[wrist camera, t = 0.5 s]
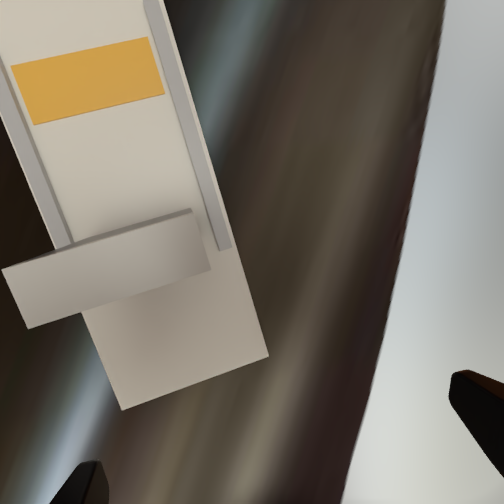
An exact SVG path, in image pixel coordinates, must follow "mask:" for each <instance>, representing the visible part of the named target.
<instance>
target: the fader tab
mask: <svg viewBox="0 0 504 504" xmlns="http://www.w3.org/2000/svg"><path fill="white" fill-rule="evenodd" d="M210 270H211V267H210V263H209V260H208V257H207V254H206V251H205V248H204V245H203V241H202V238H201V235H200V232H199V229H198V226H197V222H196V219H195V216H194V213H193V211H192V209H191V208H188V209H184V210H181V211H177V212H174V213H171V214H167V215H164V216H160V217H157V218H154V219H150V220H147V221H143V222H140V223H136V224H133V225H130V226H126V227H123V228H119V229H116V230H112V231H109V232H106V233H102V234H99V235H95V236H92V237H88V238H86V239H83V240H80V241H77V242H75V243H72V244H69V245H67V246H64V247H61V248H59V249H56V250H53V251H50V252H48V253H45V254H42V255H40V256H37V257H34V258H32V259H29V260H26V261H23V262H21V263H18V264H15V265H13V266H10V267H7V268H5V269H2V272H3V274H4V277H5V279H6V281H7V283H8V285H9V288H10V290H11V292H12V294H13V296H14V299H15V301H16V303H17V305H18V308H19V310H20V312H21V314H22V316H23V319H24V321H25V323H26V325H27V327H28V329H30V328H33V327H36V326H39V325H42V324H45V323H48V322H51V321H54V320H58V319H61V318H64V317H67V316H70V315H73V314H76V313H79V312H82V311H86V310H89V309H92V308H95V307H98V306H101V305H104V304H107V303H110V302H114V301H117V300H120V299H123V298H126V297H129V296H132V295H135V294H138V293H142V292H145V291H148V290H151V289H154V288H157V287H160V286H163V285H166V284H170V283H173V282H176V281H179V280H182V279H185V278H188V277H191V276H194V275H198V274H201V273H204V272H207V271H210Z"/></svg>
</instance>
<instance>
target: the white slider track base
mask: <svg viewBox="0 0 504 504" xmlns="http://www.w3.org/2000/svg"><path fill="white" fill-rule="evenodd" d="M0 116H1V118H2V121H3V123H4V126H5V128H6V130H7V133H8V135H9V138H10V140H11V143H12V145H13V147H14V150H15V152H16V155H17V157H18V160H19V162H20V164H21V167H22V169H23V172H24V174H25V177H26V179H27V181H28V184H29V186H30V189H31V191H32V194H33V196H34V198H35V201H36V203H37V206H38V208H39V211H40V213H41V215H42V218H43V220H44V223H45V225H46V228H47V230H48V232H49V235H50V237H51V240H52V242H53V245H54V247H55V249H59V248H61V247H64V246H67V245H69V244H72V243H75V242H77V241H80V240H83V239H86V238H88V237H92V236H95V235H99V234H102V233H106V232H109V231H112V230H116V229H119V228H123V227H126V226H130V225H133V224H136V223H140V222H143V221H147V220H150V219H154V218H157V217H160V216H164V215H167V214H171V213H174V212H177V211H181V210H184V209H188V208H191V209H192V211H193V213H194V216H195V219H196V222H197V226H198V229H199V232H200V235H201V238H202V241H203V245H204V248H205V251H206V254H207V257H208V260H209V263H210V267H211V270H210V271H207V272H204V273H201V274H198V275H194V276H191V277H188V278H185V279H182V280H179V281H176V282H173V283H170V284H166V285H163V286H160V287H157V288H154V289H151V290H148V291H145V292H142V293H138V294H135V295H132V296H129V297H126V298H123V299H120V300H117V301H114V302H110V303H107V304H104V305H101V306H98V307H95V308H92V309H89V310H86V311H82V312H81V313H82V315H83V317H84V320H85V322H86V325H87V327H88V330H89V332H90V334H91V337H92V339H93V342H94V344H95V347H96V349H97V351H98V354H99V356H100V359H101V361H102V364H103V366H104V368H105V371H106V373H107V376H108V378H109V381H110V383H111V385H112V388H113V390H114V393H115V395H116V398H117V400H118V402H119V405H120V407H121V410H125V409H127V408H130V407H133V406H136V405H138V404H141V403H144V402H147V401H149V400H152V399H155V398H157V397H160V396H163V395H166V394H168V393H171V392H174V391H176V390H179V389H182V388H185V387H187V386H190V385H193V384H195V383H198V382H201V381H204V380H206V379H209V378H212V377H214V376H217V375H220V374H223V373H225V372H228V371H231V370H233V369H236V368H239V367H242V366H244V365H247V364H250V363H252V362H255V361H258V360H261V359H263V358H266V357H269V355H268V351H267V348H266V345H265V341H264V338H263V334H262V331H261V328H260V324H259V321H258V318H257V314H256V311H255V308H254V304H253V301H252V298H251V294H250V291H249V287H248V284H247V281H246V277H245V274H244V271H243V267H242V264H241V261H240V257H239V254H238V250H237V247H236V244H235V240H234V237H233V234H232V230H231V227H230V224H229V220H228V217H227V213H226V210H225V207H224V203H223V200H222V197H221V193H220V190H219V187H218V183H217V180H216V176H215V173H214V170H213V166H212V163H211V160H210V156H209V153H208V150H207V146H206V143H205V139H204V136H203V133H202V129H201V126H200V123H199V119H198V116H197V113H196V109H195V106H194V103H193V99H192V96H191V92H190V89H189V86H188V82H187V79H186V76H185V72H184V69H183V66H182V62H181V59H180V55H179V52H178V49H177V45H176V42H175V39H174V35H173V32H172V29H171V25H170V22H169V18H168V15H167V12H166V8H165V5H164V2H163V0H0Z"/></svg>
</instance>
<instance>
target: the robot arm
mask: <svg viewBox="0 0 504 504" xmlns="http://www.w3.org/2000/svg"><path fill="white" fill-rule="evenodd" d="M449 400H450V403H451V405H452V407H453V409H454V410H455V411H456V412H457V414H458V416H459V417H460V418H461V420H462V421H463V423H464V424H465V426H466V427H467V428H468V430H469V431H470V433H471V434H472V436H473V437H474V438H475V440H476V441H477V443H478V444H479V446H480V447H481V448H482V450H483V452H484V453H485V454H486V456H487V457H488V458H489V460H490V461H491V463H492V464H493V465H494V466H495V468H496V469H497V470H498V471H499V473H500V474H501V475H502V476H503V477H504V383H501V382H499V381H496V380H494V379H491V378H489V377H486V376H484V375H481V374H479V373H476V372H474V371H471V370H462V371H458V372H455V373H453V374H452V377H451V383H450V389H449ZM49 504H109V484H108V481H107V478H106V475H105V472H104V469H103V466H102V463H101V461H100V460H98V459H95V460H91V461H87V462H83V463H80V464H79V465H78V466H77V467H76V468H75V470H74V471H73V472H72V474H71V475H70V476H69V478H68V479H67V480H66V482H65V483H64V484H63V486H62V487H61V488H60V490H59V491H58V492H57V494H56V495H55V497H54V498H53V499H52V501H51V502H50V503H49Z"/></svg>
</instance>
